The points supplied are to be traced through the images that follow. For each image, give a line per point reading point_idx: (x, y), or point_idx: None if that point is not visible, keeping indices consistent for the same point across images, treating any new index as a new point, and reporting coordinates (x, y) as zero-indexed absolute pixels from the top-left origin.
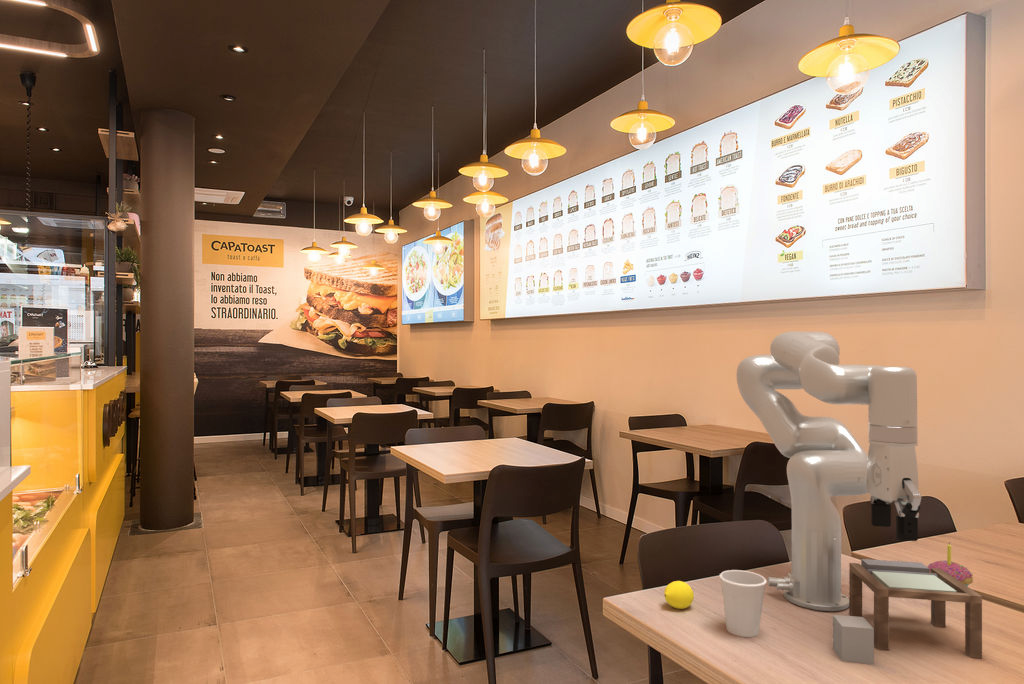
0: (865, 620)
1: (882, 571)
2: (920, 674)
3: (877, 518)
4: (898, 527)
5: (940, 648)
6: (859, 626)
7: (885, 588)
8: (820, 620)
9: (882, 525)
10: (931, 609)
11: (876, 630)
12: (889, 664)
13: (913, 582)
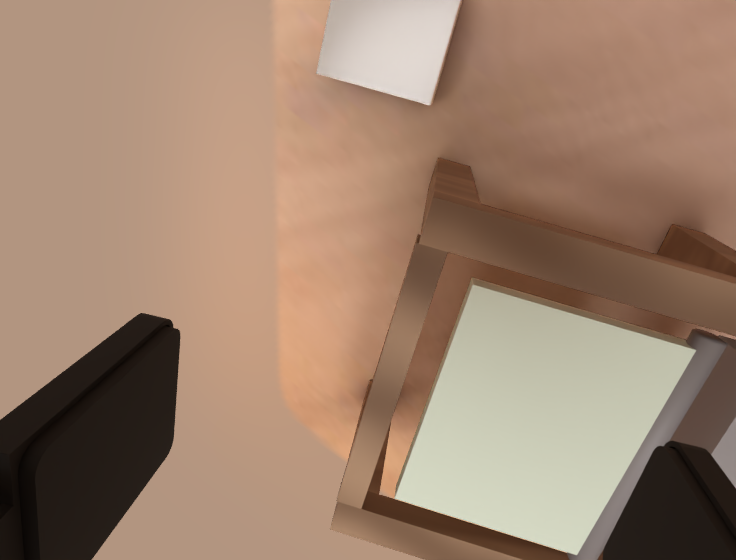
0: (394, 91)
1: (673, 393)
2: (281, 179)
3: (677, 525)
4: (75, 373)
5: (428, 348)
6: (338, 24)
7: (437, 241)
8: (703, 97)
9: (626, 505)
10: None
11: (447, 169)
12: (341, 128)
13: (510, 421)
